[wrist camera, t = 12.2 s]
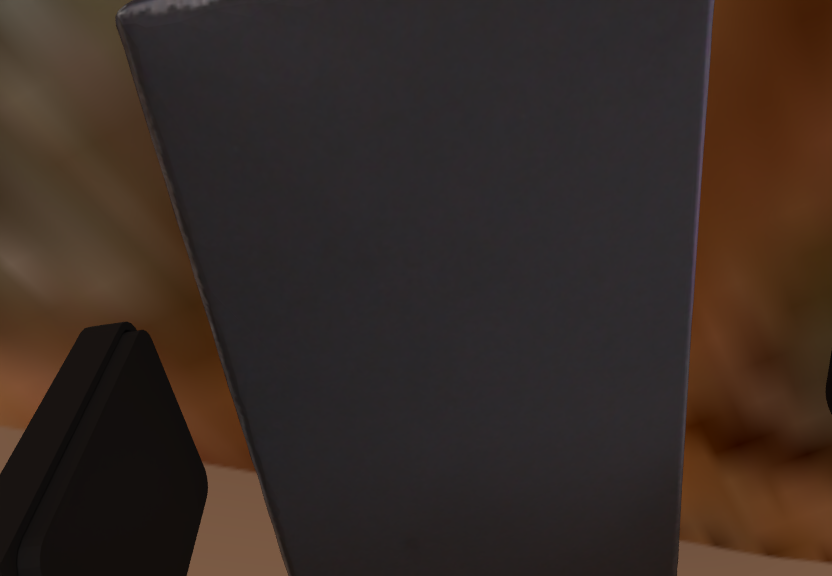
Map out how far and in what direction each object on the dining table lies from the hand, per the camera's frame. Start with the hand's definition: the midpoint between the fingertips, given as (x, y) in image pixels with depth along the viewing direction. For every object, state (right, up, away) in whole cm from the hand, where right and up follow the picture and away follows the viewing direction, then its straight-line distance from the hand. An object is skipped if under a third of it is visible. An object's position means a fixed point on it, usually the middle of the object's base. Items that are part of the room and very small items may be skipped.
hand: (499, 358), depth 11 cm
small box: (-1, +5, +9) cm, 10 cm away
